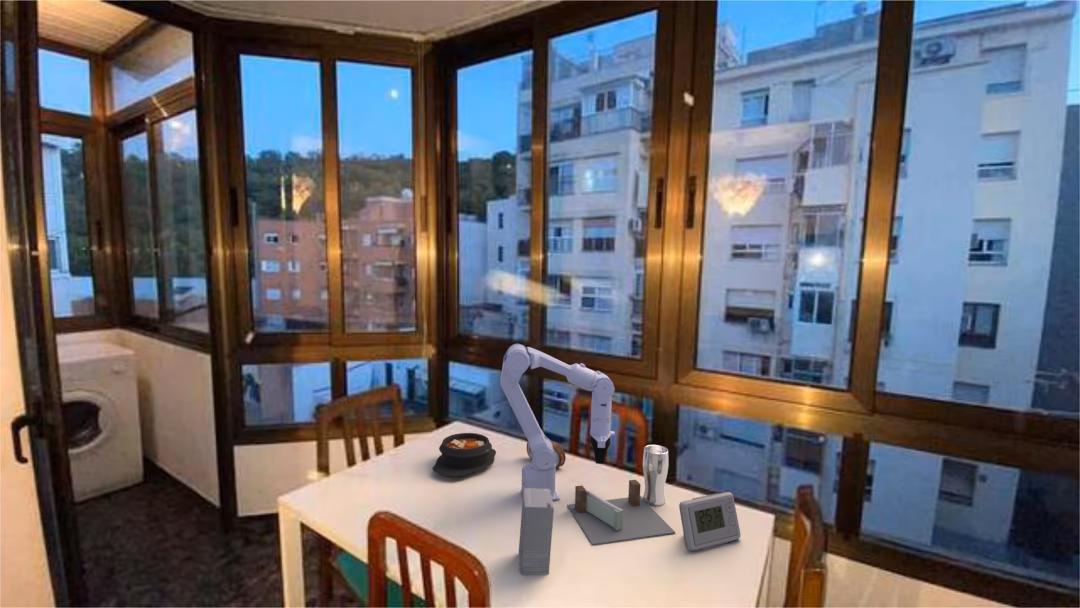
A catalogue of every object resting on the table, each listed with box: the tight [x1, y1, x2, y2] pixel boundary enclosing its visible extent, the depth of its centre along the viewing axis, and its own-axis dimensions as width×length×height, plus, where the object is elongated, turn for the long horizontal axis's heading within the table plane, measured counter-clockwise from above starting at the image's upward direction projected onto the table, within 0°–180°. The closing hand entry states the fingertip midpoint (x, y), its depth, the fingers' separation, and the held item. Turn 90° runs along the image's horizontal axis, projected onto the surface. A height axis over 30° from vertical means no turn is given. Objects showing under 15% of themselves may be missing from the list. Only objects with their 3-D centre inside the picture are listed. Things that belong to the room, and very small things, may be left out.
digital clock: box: [678, 491, 741, 552], centre depth 119 cm, size 16×9×11 cm, turn 101°
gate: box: [586, 490, 623, 530], centre depth 127 cm, size 12×2×5 cm, turn 37°
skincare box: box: [518, 488, 555, 575], centre depth 108 cm, size 8×7×16 cm
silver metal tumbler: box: [642, 444, 669, 507], centre depth 138 cm, size 7×7×15 cm
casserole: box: [432, 432, 497, 478], centre depth 159 cm, size 25×19×8 cm
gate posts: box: [574, 479, 642, 513], centre depth 134 cm, size 18×3×6 cm, turn 105°
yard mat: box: [566, 495, 676, 547], centre depth 128 cm, size 22×19×1 cm
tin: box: [526, 440, 567, 470], centre depth 161 cm, size 15×3×8 cm, turn 49°
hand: (599, 462), depth 141 cm, fingers closed
